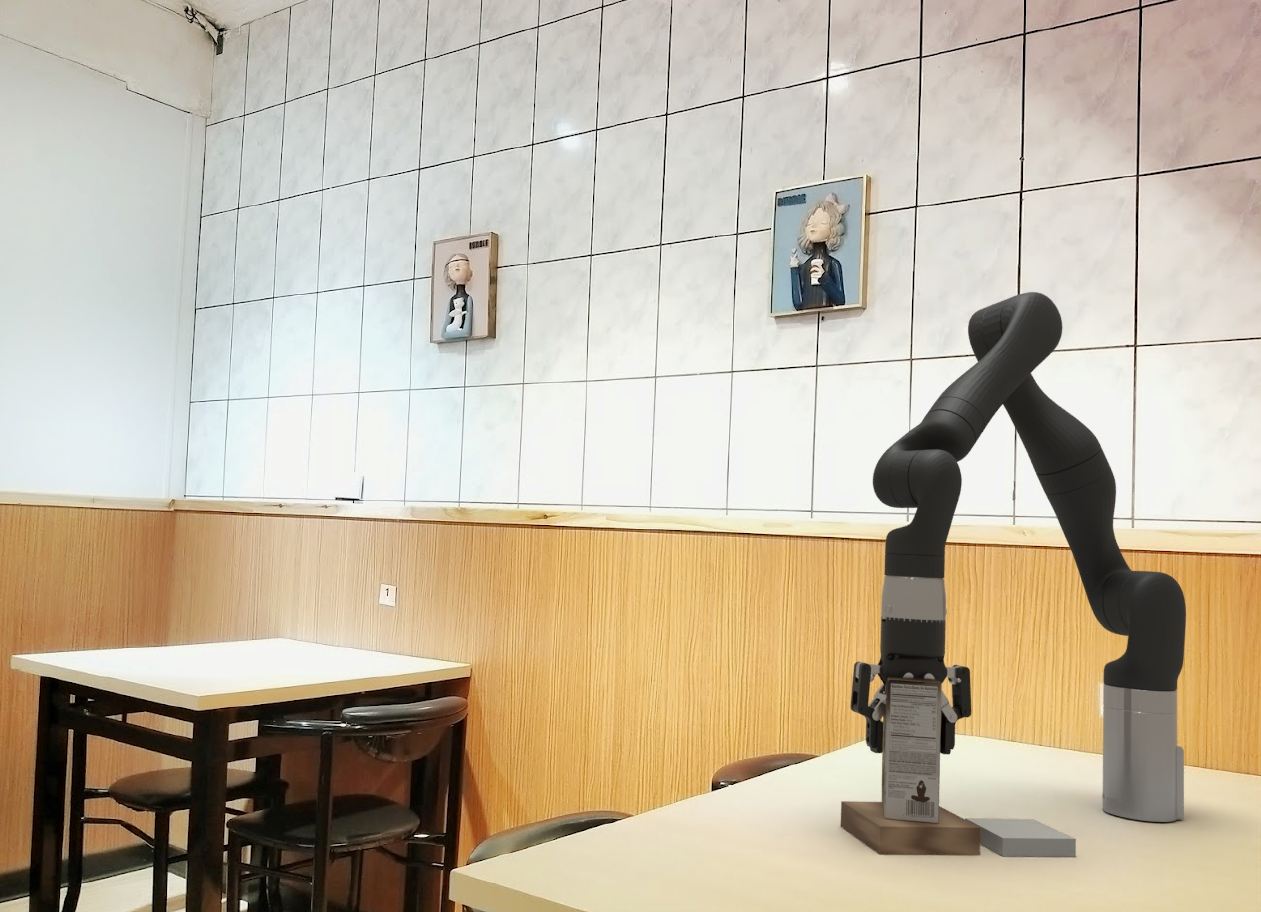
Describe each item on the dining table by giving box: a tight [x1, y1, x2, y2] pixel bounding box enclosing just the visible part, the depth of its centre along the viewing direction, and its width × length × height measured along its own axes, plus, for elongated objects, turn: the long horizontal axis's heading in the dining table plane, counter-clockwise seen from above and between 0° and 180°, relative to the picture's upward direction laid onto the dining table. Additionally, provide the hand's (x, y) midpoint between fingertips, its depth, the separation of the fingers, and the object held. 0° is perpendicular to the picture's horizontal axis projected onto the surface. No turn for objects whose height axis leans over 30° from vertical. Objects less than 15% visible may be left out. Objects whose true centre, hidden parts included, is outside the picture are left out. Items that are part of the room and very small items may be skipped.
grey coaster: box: [964, 817, 1077, 858], centre depth 124 cm, size 9×9×2 cm
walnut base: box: [840, 800, 981, 856], centre depth 124 cm, size 12×12×3 cm
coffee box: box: [881, 677, 943, 823], centre depth 126 cm, size 9×6×16 cm
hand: (909, 752), depth 125 cm, fingers open, 8 cm apart
